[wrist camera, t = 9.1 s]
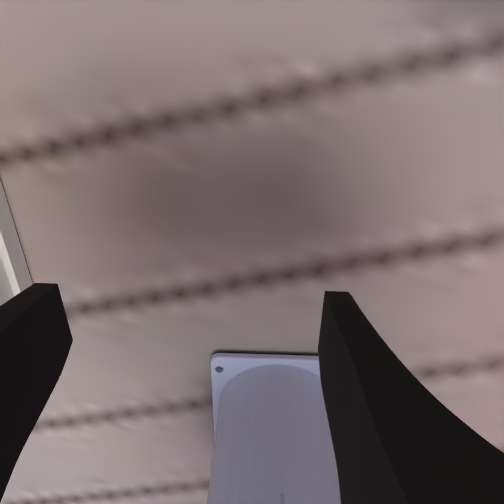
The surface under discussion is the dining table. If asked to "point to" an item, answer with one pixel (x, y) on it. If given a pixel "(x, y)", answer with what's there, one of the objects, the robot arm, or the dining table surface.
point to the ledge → (10, 256)
